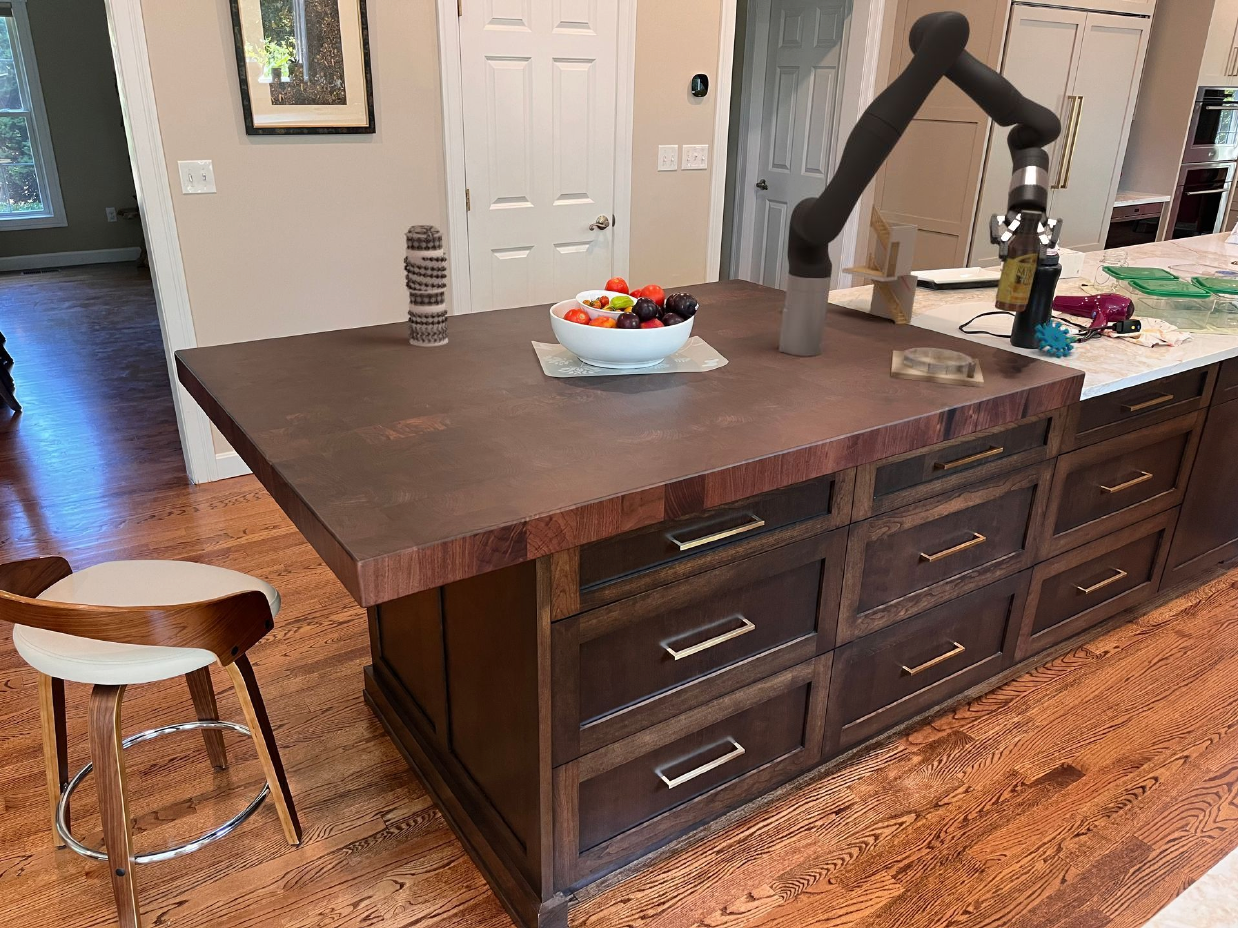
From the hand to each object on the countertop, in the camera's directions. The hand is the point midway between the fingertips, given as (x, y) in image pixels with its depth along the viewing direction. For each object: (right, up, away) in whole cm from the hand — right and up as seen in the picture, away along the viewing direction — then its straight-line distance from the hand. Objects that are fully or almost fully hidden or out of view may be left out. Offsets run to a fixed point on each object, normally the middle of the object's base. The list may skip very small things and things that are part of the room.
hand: (1021, 261), depth 179 cm
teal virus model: (+20, -16, +27) cm, 37 cm away
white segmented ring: (-14, -20, +10) cm, 26 cm away
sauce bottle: (0, -9, +6) cm, 11 cm away
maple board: (-14, -21, +10) cm, 27 cm away
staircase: (-14, -4, +54) cm, 56 cm away
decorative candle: (-124, -14, +18) cm, 126 cm away
